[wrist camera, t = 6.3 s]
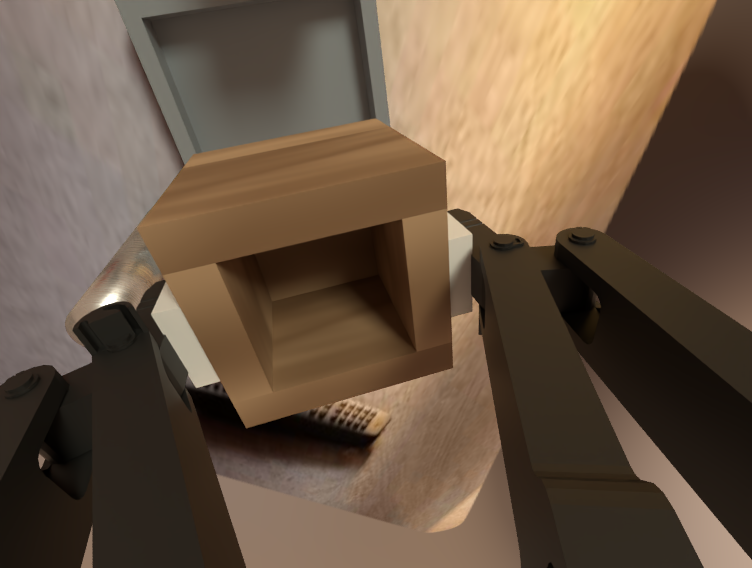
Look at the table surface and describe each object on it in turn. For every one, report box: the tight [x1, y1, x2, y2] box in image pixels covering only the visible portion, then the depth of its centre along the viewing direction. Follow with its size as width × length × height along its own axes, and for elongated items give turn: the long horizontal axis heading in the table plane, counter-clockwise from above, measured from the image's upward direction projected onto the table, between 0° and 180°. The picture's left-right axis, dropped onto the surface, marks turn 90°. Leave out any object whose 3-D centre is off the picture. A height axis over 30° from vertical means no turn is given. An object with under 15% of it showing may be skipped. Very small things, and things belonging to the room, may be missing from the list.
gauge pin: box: [65, 211, 163, 347], centre depth 24 cm, size 3×3×14 cm
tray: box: [114, 0, 390, 164], centre depth 28 cm, size 20×15×3 cm
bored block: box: [137, 118, 453, 428], centre depth 13 cm, size 7×7×7 cm
